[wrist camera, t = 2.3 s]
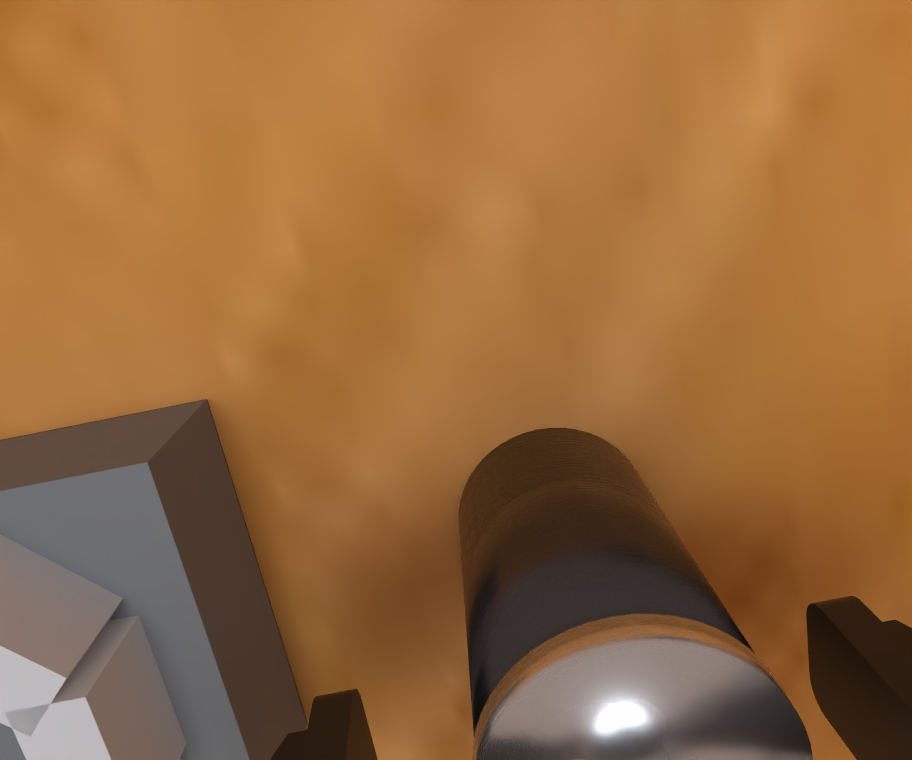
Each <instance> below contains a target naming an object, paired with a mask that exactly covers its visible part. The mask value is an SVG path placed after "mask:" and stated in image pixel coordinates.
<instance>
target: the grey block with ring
mask: <svg viewBox="0 0 912 760" xmlns="http://www.w3.org/2000/svg"><path fill="white" fill-rule="evenodd" d="M306 723H307V721H306V718H305V715H304V712H303V708H302V705H301V702H300V699H299V695H298V692H297V689H296V686H295V683H294V679H293V676H292V673H291V670H290V666H289V663H288V660H287V657H286V654H285V650H284V647H283V644H282V641H281V638H280V634H279V631H278V628H277V625H276V621H275V618H274V615H273V612H272V609H271V605H270V602H269V599H268V596H267V592H266V589H265V586H264V583H263V580H262V576H261V573H260V570H259V567H258V563H257V560H256V557H255V554H254V551H253V547H252V544H251V541H250V538H249V534H248V531H247V528H246V525H245V522H244V518H243V515H242V512H241V509H240V505H239V502H238V499H237V496H236V493H235V489H234V486H233V483H232V480H231V476H230V473H229V470H228V467H227V464H226V460H225V457H224V454H223V451H222V447H221V444H220V441H219V438H218V435H217V431H216V428H215V425H214V422H213V419H212V415H211V412H210V409H209V406H208V402H207V400H202V401H197V402H192V403H186V404H181V405H176V406H171V407H166V408H161V409H156V410H151V411H146V412H141V413H136V414H131V415H126V416H121V417H116V418H111V419H106V420H101V421H96V422H91V423H85V424H80V425H75V426H70V427H65V428H60V429H55V430H50V431H45V432H40V433H35V434H30V435H25V436H20V437H15V438H10V439H5V440H0V760H270V759H271V757H272V756H273V754H274V753H275V752H276V750H277V749H278V747H279V746H280V744H281V743H282V741H283V740H284V738H285V737H286V736H287V734H288V733H293V732H299V731H304V730H305V728H306Z"/></svg>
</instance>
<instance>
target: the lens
mask: <svg viewBox="0 0 912 760" xmlns="http://www.w3.org/2000/svg"><path fill="white" fill-rule="evenodd" d="M459 530H460V544H461V559H462V573H463V587H464V602H465V616H466V630H467V644H468V659H469V673H470V687H471V701H472V716H473V730H474V743H473V760H813V756H812V750H811V744H810V741H809V738H808V735H807V732H806V729H805V726H804V725H803V723H802V721H801V719H800V717H799V715H798V713H797V711H796V710H795V708H794V707H793V705H792V704H791V702H790V701H789V699H788V698H787V696H786V695H785V693H784V692H783V690H782V689H781V687H780V686H779V684H778V682H777V681H776V679H775V678H774V676H773V675H772V674H771V672H770V671H769V670H768V668H767V667H766V666H765V664H764V663H763V662H762V660H761V659H760V658H758V657H757V656H756V655H755V653H754V652H753V650H752V649H751V647H750V645H749V644H748V642H747V641H746V639H745V638H744V636H743V635H742V633H741V632H740V630H739V629H738V627H737V625H736V624H735V622H734V621H733V619H732V618H731V616H730V615H729V613H728V612H727V610H726V609H725V607H724V605H723V604H722V602H721V601H720V599H719V598H718V596H717V595H716V593H715V592H714V590H713V589H712V587H711V585H710V584H709V582H708V581H707V579H706V578H705V576H704V575H703V573H702V572H701V570H700V569H699V567H698V566H697V564H696V562H695V561H694V559H693V558H692V556H691V555H690V553H689V552H688V550H687V549H686V547H685V546H684V544H683V542H682V541H681V539H680V538H679V536H678V535H677V533H676V532H675V530H674V529H673V527H672V526H671V524H670V522H669V521H668V519H667V518H666V516H665V515H664V513H663V512H662V510H661V509H660V507H659V506H658V504H657V502H656V501H655V499H654V498H653V496H652V495H651V493H650V492H649V490H648V489H647V487H646V486H645V484H644V482H643V481H642V479H641V478H640V476H639V475H638V473H637V472H636V470H635V469H634V467H633V466H632V464H631V463H630V462H629V460H628V459H627V458H626V457H625V456H624V455H623V454H622V453H621V452H620V451H619V450H618V449H617V448H615V447H614V446H613V445H611V444H610V443H608V442H607V441H605V440H603V439H601V438H599V437H597V436H595V435H592V434H590V433H587V432H583V431H579V430H575V429H566V428H547V429H540V430H535V431H531V432H527V433H524V434H521V435H519V436H516V437H514V438H512V439H510V440H508V441H506V442H504V443H502V444H501V445H500V446H498V447H497V448H495V449H494V450H493V451H491V452H490V453H489V454H488V455H487V456H486V457H485V458H484V459H483V460H482V461H481V462H480V463H479V465H478V466H477V467H476V468H475V470H474V471H473V473H472V474H471V476H470V478H469V479H468V482H467V484H466V486H465V488H464V491H463V494H462V498H461V501H460V508H459Z"/></svg>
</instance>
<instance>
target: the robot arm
mask: <svg viewBox="0 0 912 760" xmlns="http://www.w3.org/2000/svg"><path fill="white" fill-rule="evenodd" d="M806 615H807V635H808V653H809V672H810V681H811V685H812V689H813V692H814V695H815V698H816V700H817V703H818V705H819V707H820V709H821V711H822V712H823V714H824V715H825V717H826V718H827V720H828V721H829V722H830V724H831V725H832V726H833V728H834V729H835V731H836V732H837V733H838V735H839V736H840V737H841V739H842V740H843V741H844V743H845V744H846V746H847V747H848V748H849V750H850V751H851V752H852V754H853V755H854V757H855V758H856V759H857V760H912V628H910V627H908V626H906V625H904V624H903V623H901V622H899V621H897V620H891V621H885V622H882V621H881V620H880V619H879V618H878V617H876V616H875V615H874V614H873V613H872V612H871V611H870V610H869V609H868V608H867V607H866V606H865V605H864V604H863V603H862V602H861V601H860V600H859V599H858V598H856V597H854V596H849V597H844V598H838V599H833V600H828V601H823V602H817V603H812V604H810V605H809V606H808V608H807V613H806ZM270 760H377V756H376V752H375V748H374V744H373V741H372V737H371V733H370V730H369V726H368V722H367V718H366V715H365V711H364V707H363V704H362V700H361V696H360V694H359V692H358V690H357V689H353V690H348V691H342V692H337V693H332V694H327V695H321V696H316V697H315V698H314V700H313V704H312V709H311V714H310V719H309V724H308V730H304V731H299V732H293V733H288V734H287V736H286V737H285V738H284V740H283V741H282V743H281V744H280V746H279V747H278V749H277V750H276V752H275V753H274V754H273V756H272V757H271V759H270Z"/></svg>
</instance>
